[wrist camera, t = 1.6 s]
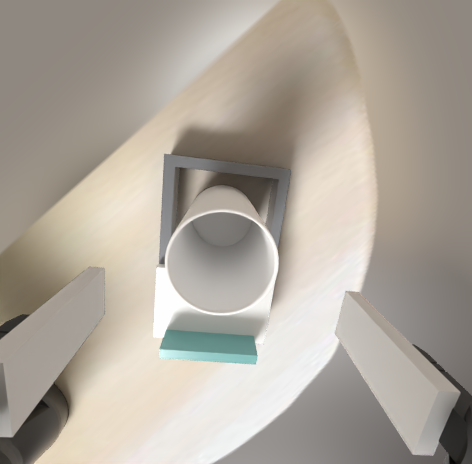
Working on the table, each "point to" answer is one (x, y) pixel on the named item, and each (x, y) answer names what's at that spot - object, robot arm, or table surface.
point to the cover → (207, 328)
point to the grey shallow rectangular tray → (176, 161)
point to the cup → (221, 254)
